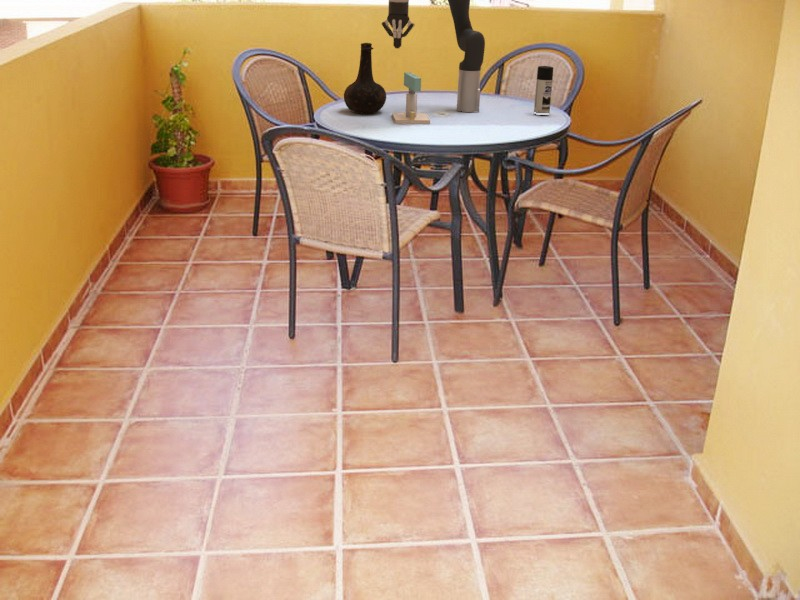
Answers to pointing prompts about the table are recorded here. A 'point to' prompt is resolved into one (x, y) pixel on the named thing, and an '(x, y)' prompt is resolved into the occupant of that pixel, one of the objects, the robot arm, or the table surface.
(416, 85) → the pale green block
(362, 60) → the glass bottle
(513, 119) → the table surface
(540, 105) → the spray can
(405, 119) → the post base
